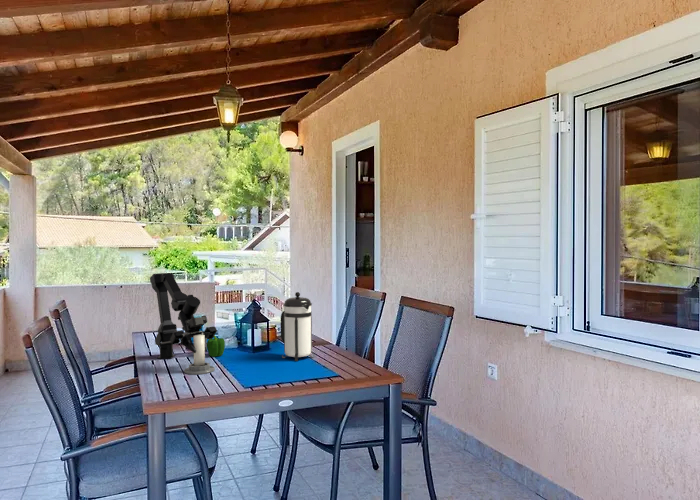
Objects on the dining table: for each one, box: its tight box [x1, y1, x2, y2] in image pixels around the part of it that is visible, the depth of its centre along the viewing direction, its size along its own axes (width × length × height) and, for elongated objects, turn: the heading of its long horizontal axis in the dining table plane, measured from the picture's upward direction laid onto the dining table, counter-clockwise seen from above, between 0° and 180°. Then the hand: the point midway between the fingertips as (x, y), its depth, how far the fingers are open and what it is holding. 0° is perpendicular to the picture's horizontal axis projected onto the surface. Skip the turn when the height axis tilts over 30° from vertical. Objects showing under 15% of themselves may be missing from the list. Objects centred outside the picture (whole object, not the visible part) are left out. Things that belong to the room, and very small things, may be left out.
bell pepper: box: [207, 335, 226, 358], centre depth 247 cm, size 8×8×10 cm
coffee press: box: [280, 291, 316, 362], centre depth 242 cm, size 17×16×30 cm
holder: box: [184, 361, 216, 376], centre depth 219 cm, size 12×12×3 cm
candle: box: [193, 335, 206, 367], centre depth 219 cm, size 4×4×13 cm
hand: (200, 351), depth 218 cm, fingers closed on candle, 4 cm apart
